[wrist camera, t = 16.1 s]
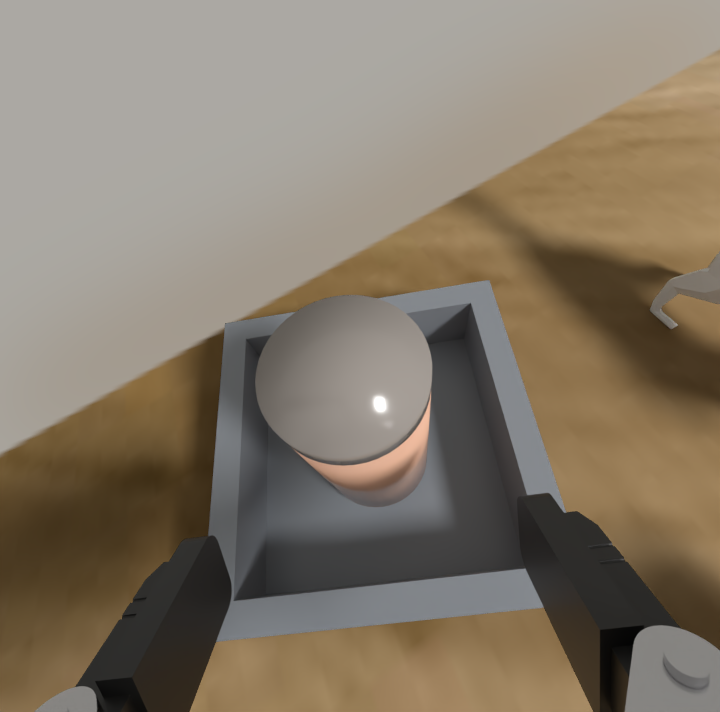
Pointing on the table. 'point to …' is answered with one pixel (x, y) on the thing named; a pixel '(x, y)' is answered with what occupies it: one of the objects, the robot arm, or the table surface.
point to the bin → (390, 523)
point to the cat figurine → (690, 289)
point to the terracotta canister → (351, 395)
